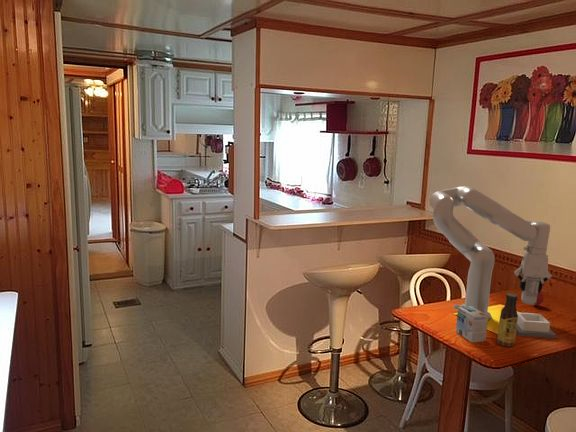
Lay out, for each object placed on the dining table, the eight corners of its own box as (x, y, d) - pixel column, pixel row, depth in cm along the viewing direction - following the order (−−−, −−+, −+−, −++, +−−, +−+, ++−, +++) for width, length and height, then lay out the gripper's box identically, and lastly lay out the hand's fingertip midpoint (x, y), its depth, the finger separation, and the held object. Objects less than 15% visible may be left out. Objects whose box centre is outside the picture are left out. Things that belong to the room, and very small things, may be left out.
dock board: (519, 335, 202) (520, 322, 201) (507, 322, 215) (509, 310, 214) (555, 338, 200) (557, 325, 199) (542, 324, 214) (543, 312, 213)
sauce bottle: (505, 348, 190) (511, 298, 186) (492, 342, 195) (498, 293, 192) (518, 346, 192) (524, 296, 189) (505, 339, 198) (511, 291, 194)
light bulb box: (455, 331, 204) (457, 306, 202) (469, 330, 206) (471, 305, 204) (471, 343, 194) (473, 316, 192) (486, 341, 196) (489, 315, 194)
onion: (526, 303, 240) (528, 287, 238) (539, 303, 240) (541, 287, 238) (532, 307, 234) (534, 291, 233) (544, 308, 234) (546, 291, 232)
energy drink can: (533, 301, 222) (538, 268, 219) (537, 305, 216) (543, 272, 214) (519, 299, 223) (524, 267, 221) (522, 304, 217) (528, 270, 215)
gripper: (518, 251, 213) (512, 291, 216) (561, 254, 211) (554, 295, 214) (512, 246, 220) (506, 286, 223) (553, 250, 218) (547, 289, 222)
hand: (530, 290), depth 219 cm, fingers closed on energy drink can, 6 cm apart
